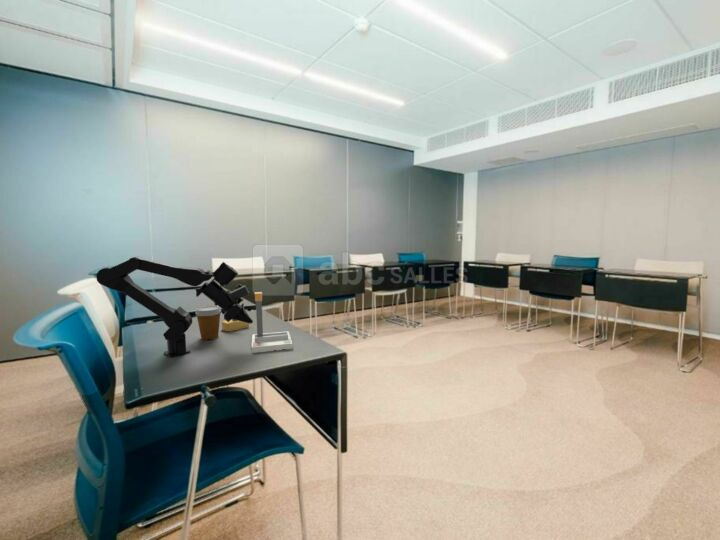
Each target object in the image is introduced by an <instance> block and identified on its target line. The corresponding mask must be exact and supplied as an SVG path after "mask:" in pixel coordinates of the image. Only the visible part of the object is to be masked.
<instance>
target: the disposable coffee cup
mask: <svg viewBox="0 0 720 540" xmlns="http://www.w3.org/2000/svg"><path fill="white" fill-rule="evenodd" d="M221 312H222V308H220V307H219V306H218V305H217V306H216V305H213V306H212V305H211V306H210V305H207V306H201V307H198V308H196V310H195V312H194V313H195V316H196V319H197V323H198V329H199V333H200V339H201V340H203V339H204V341H209V340H208V339H211V340H215V339H218V338H219V333H220V331H219V330H220V319H221ZM214 338H215V339H214Z"/></svg>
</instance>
